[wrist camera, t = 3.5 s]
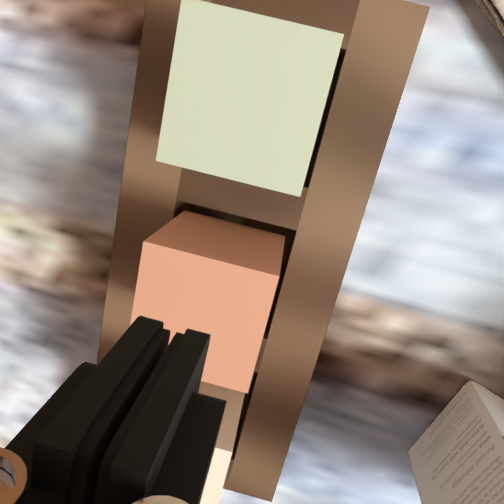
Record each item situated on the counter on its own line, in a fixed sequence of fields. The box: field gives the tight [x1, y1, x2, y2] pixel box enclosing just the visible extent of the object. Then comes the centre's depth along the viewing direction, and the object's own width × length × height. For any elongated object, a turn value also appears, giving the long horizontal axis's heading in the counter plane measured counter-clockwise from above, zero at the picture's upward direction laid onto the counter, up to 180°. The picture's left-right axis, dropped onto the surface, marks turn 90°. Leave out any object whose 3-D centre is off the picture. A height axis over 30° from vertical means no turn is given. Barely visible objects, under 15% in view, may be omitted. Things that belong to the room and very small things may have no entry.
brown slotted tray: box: [97, 0, 430, 502], centre depth 20 cm, size 23×10×3 cm, turn 167°
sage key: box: [156, 0, 344, 197], centre depth 14 cm, size 4×4×5 cm
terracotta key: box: [130, 211, 285, 394], centre depth 16 cm, size 4×4×5 cm
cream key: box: [198, 381, 245, 504], centre depth 19 cm, size 4×4×5 cm
